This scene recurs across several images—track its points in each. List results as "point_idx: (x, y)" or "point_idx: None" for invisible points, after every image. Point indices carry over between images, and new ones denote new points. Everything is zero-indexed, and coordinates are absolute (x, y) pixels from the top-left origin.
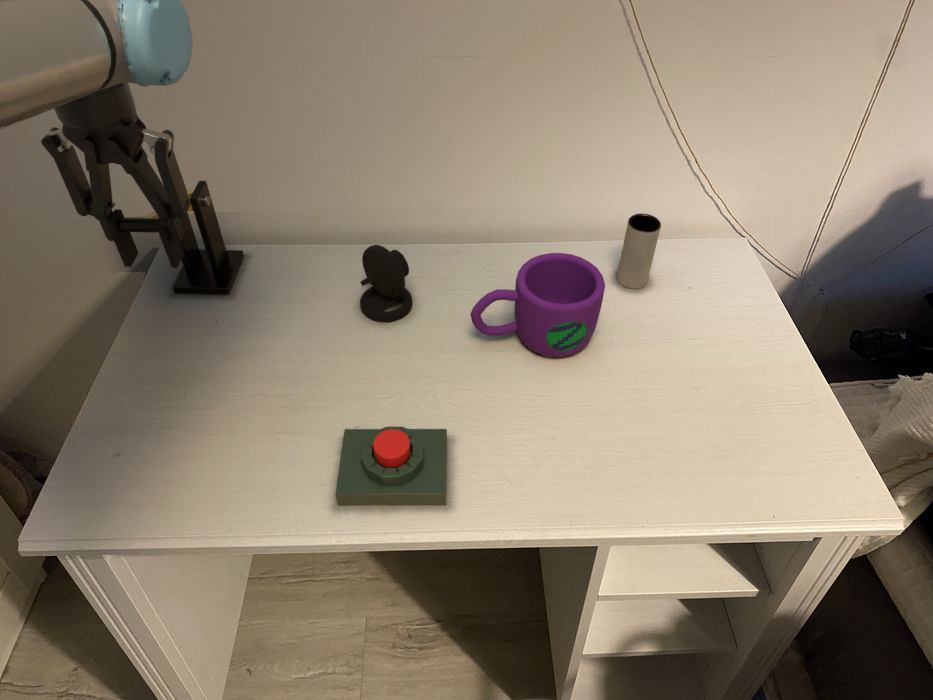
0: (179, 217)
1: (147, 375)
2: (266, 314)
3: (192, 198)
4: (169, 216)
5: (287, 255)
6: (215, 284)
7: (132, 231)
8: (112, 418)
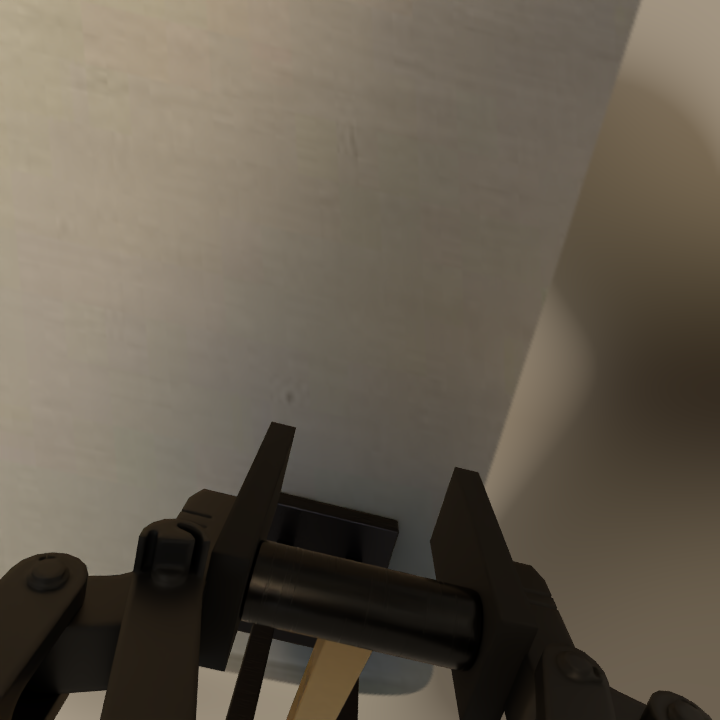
0: (68, 560)
1: (453, 239)
2: (165, 399)
3: None
4: (131, 580)
5: None
6: (290, 519)
7: (410, 574)
8: (536, 97)
